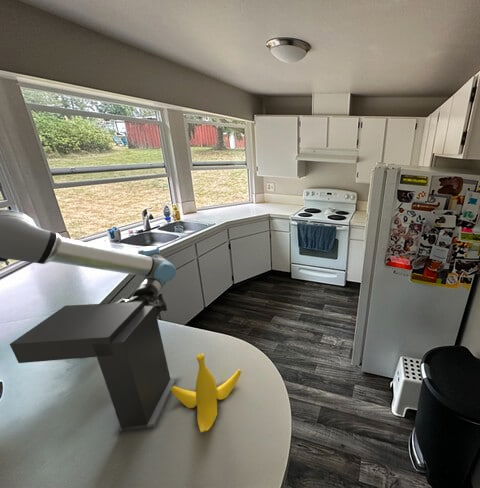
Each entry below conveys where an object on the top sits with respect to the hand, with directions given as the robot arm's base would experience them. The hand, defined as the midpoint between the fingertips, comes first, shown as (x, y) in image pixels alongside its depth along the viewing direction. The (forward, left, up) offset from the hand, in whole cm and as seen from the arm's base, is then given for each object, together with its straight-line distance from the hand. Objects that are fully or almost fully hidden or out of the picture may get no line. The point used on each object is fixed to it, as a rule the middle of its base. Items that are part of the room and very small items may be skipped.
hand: (124, 324), depth 82 cm
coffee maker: (+8, -20, -12) cm, 25 cm away
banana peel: (+31, -24, -12) cm, 41 cm away
